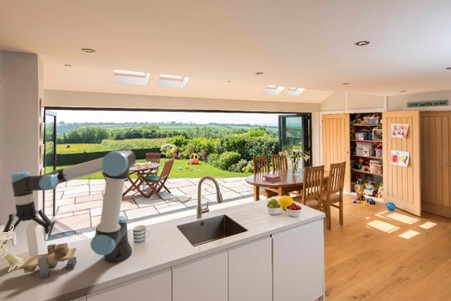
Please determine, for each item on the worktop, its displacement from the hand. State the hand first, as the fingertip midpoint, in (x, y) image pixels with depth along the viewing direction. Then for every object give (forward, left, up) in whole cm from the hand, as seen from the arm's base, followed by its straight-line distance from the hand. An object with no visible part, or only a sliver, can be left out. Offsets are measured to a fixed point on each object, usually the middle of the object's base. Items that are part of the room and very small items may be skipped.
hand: (30, 242), depth 128 cm
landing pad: (-13, -11, -17) cm, 24 cm away
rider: (-10, -8, -10) cm, 16 cm away
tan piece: (-5, -4, -15) cm, 17 cm away
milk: (+15, -11, -18) cm, 26 cm away
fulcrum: (-5, -4, -17) cm, 19 cm away
